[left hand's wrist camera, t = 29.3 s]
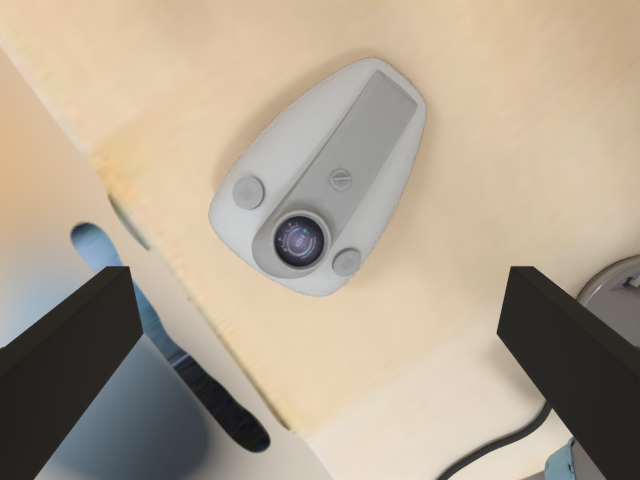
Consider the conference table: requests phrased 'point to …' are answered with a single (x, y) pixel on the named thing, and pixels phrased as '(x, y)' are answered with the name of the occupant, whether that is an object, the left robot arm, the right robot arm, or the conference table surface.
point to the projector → (323, 179)
